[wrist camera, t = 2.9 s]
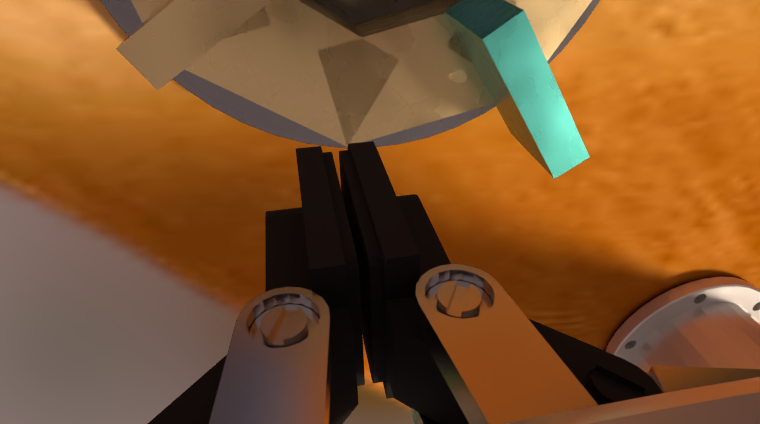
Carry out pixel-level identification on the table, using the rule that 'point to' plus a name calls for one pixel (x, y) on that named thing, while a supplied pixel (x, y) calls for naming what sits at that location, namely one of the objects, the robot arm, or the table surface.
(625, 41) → the table surface
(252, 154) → the table surface
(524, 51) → the wooden castle nut
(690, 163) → the table surface
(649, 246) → the table surface
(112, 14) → the hub
